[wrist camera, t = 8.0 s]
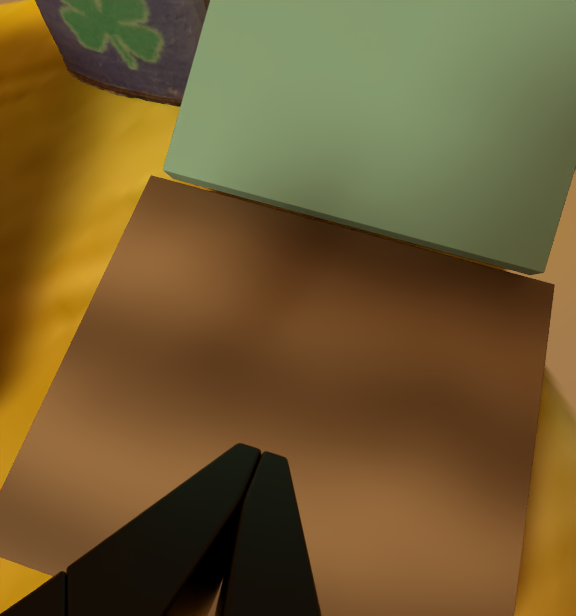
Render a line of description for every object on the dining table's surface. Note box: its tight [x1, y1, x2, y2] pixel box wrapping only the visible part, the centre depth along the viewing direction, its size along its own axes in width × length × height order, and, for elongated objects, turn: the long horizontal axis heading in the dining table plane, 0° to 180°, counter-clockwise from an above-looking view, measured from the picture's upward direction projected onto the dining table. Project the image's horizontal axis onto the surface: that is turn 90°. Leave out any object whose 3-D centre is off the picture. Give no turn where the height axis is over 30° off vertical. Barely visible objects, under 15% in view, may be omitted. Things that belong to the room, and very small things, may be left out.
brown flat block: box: [0, 175, 554, 616], centre depth 18 cm, size 14×16×4 cm
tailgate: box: [163, 0, 576, 275], centre depth 18 cm, size 2×14×12 cm
